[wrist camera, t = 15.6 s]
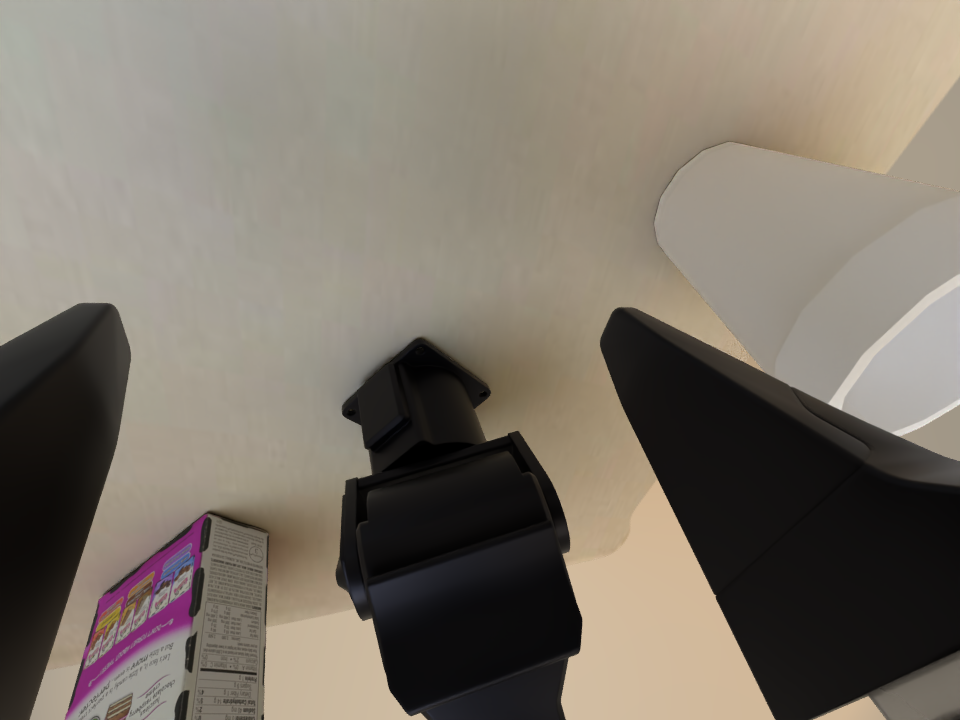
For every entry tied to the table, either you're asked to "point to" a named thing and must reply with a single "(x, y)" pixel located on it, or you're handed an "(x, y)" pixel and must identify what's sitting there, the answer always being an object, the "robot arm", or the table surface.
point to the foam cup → (826, 276)
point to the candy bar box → (182, 632)
